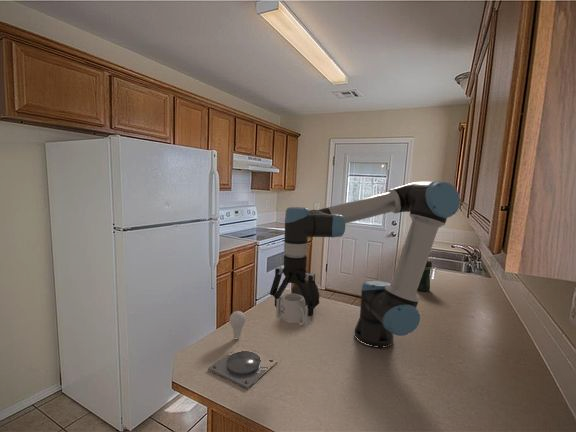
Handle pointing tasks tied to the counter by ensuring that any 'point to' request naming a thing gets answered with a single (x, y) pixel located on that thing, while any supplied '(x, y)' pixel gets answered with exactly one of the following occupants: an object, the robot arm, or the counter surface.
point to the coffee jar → (425, 278)
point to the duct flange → (239, 368)
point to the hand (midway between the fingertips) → (292, 320)
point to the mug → (292, 308)
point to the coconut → (298, 291)
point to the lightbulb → (237, 322)
